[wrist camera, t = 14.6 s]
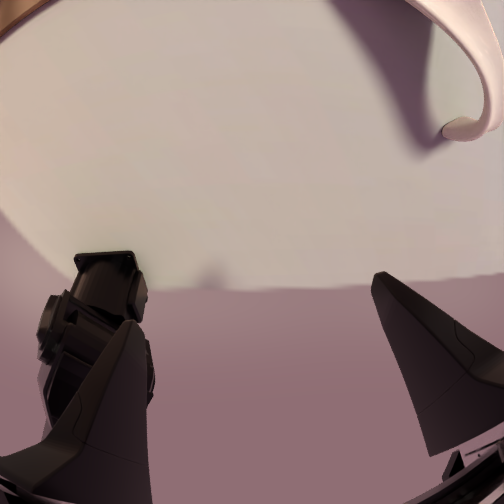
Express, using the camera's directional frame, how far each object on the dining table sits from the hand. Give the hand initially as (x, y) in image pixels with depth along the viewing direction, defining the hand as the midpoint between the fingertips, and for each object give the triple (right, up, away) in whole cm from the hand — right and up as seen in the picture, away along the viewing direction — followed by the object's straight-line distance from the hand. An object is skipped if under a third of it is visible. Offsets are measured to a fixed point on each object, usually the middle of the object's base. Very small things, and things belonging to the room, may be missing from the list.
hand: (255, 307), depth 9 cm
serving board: (-19, +26, -7) cm, 33 cm away
